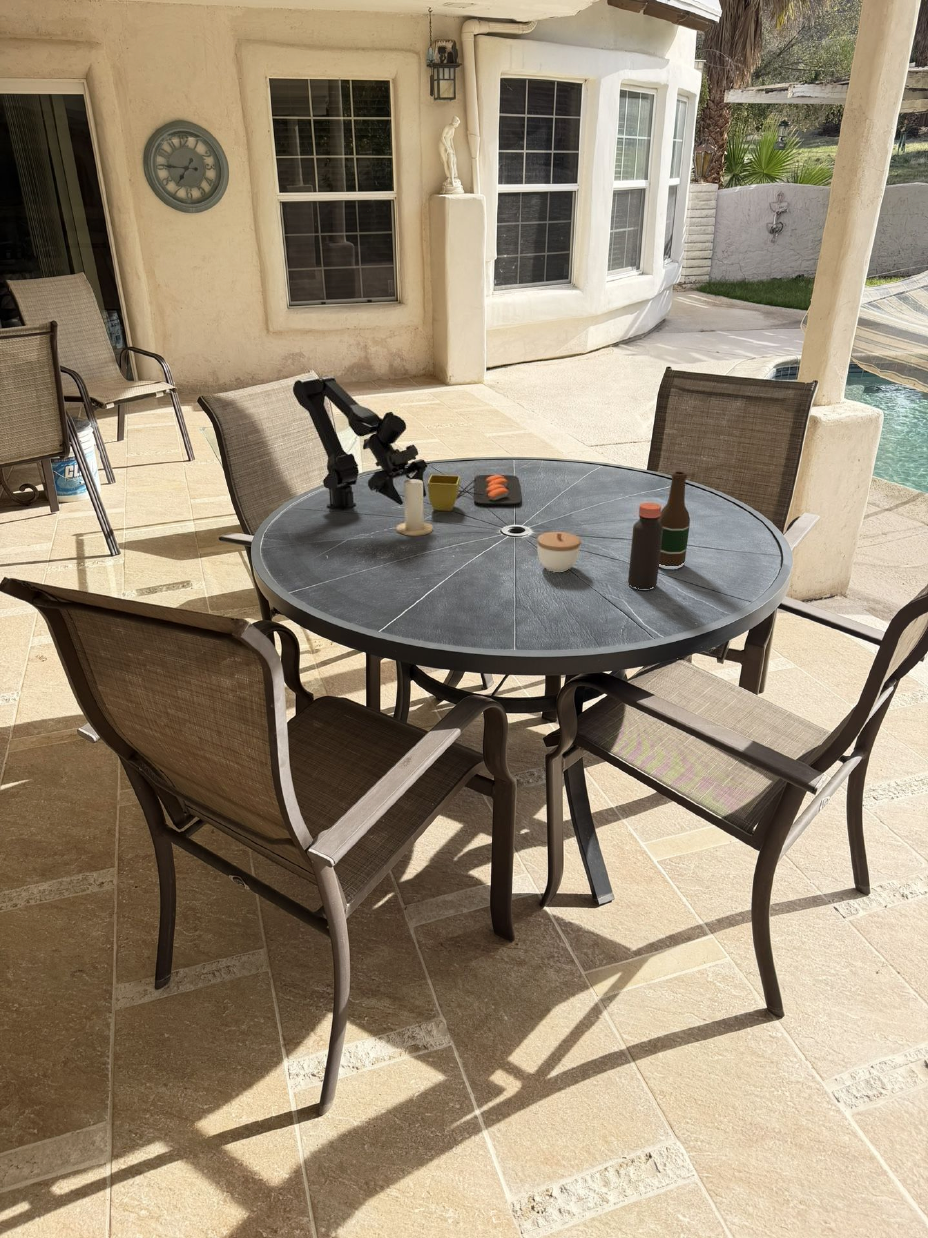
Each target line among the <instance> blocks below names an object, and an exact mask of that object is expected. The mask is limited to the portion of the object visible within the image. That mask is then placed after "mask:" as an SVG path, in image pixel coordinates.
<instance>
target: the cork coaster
mask: <svg viewBox="0 0 928 1238" xmlns="http://www.w3.org/2000/svg"><path fill="white" fill-rule="evenodd" d="M433 529H434V527H433V525H432V524H431V523H429V522H424V528H423V529H421V530H407V529H406V528H405V522H402V523H400V524H398V525H397V526H396V531H397V533H399V534H401V535H405V536H411V537H412V536H413V537H415V536H416V537H417V536H425V535H428V534H430V533H432V532H433Z"/></svg>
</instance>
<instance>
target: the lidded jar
mask: <svg viewBox="0 0 928 1238" xmlns="http://www.w3.org/2000/svg"><path fill="white" fill-rule="evenodd" d="M536 543H537V549H536V550H537V556H538V560H539V562H540V564H541V565H542V566H543V567H544V568H546V569H548V570H550V571H553V572H552V573H555V572H561V571H565V570H568V569H569V570H570V569H571V568H572V567H574V566H575V564H576V563H577V562H578V558H579V556H580V551H581V550H580V549H581V545H582V544H581V543H582V540H581V538H580V537H579V536H578V535H575V534H572V533H569V532H563V531H549V532H546V533H542V534H540V535H539V536H538V537H537V540H536ZM546 569H545V570H546ZM548 570H547V571H548ZM569 570H568V571H569ZM550 571H549V572H550Z"/></svg>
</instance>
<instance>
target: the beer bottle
mask: <svg viewBox="0 0 928 1238" xmlns="http://www.w3.org/2000/svg"><path fill="white" fill-rule="evenodd" d="M670 477H671V484H670V489H669V494H668V500H667V502H666V504H665V505H664V506H663V508H661V514H660V518H659V519H658V521H659V523H660V524H661V525H662V527H663V534H662V542H661V551H660V560H659V564H661V565H665V566H679V565H681V564H682V563H684V562H686V558H687V557H686V556H687V551H688V550H687V549H688V548H687V547H688V541H689V540H688V539H689V534H690V526H691V525H690V524H691V518H690V513H689V510H688V509H687V507H686V506H685V505H686V503H685V500H686V499H685V495H686V494H685V493H686V480H687V479H688V475H687V473H686V472H685V471H674V472H672V474H671V476H670ZM684 564H685V563H684Z"/></svg>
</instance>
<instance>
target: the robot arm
mask: <svg viewBox="0 0 928 1238" xmlns="http://www.w3.org/2000/svg"><path fill="white" fill-rule="evenodd" d="M292 392H293V395H294V398H295V399H296V400H297V402H298V404H299V405H300V407H302V408H303V409H304V410H305V411H307V412H308V414H309V416H310V418H311V421H312V423H313V425H314V427H315V430H316V432H317V435H318V437H319V439H320V442H321V444H322V447H323V448H324V451H325V453H326V455H327V456H326V457H327V461H326V463H327V464H326V470H327V473H328V474H327V475H326V476H325V477H324V478H323V480H322V484H323V486H324V488H325V489H328V493H329V503H328V504H326V507H327V508H330V509H335V510H340V511H346V510H348V509H349V507H350V508H352V507H354V506H356V505H357V503H356V502H354V491H353V486H354V485H357V482H358V481H357V480H358V477H359V473H360V471H359V464H358V463H357V460H356V459H355V455H354V454H353V453H348V452H346V451H345V450H344V449H343V446H342V444H341V442H340V441H341V440H340V439H339V436H338V434H337V432H336V429H335V427H334V425H333V423H332V421H331V418H330V416H329V413H328V411H327V408H326V406H325V402H326V399H325V398H327V399H328V400H329V401H330V402H331V403H332V404H333V405H334V406H335V407H336V408H337V409H338V410H339V411H340V412H341V414H343V415H344V416H345V417H346V419H347V422H348V426H349V427H350V429H351V430H352V432H353V433H354V434H355V435H356V436H357V437H359V438H360V437H364V436H365V437H366V436H369V435H370V436H369V437H368V438H364V439H363V445H362V450H367V449H369V450H370V452H371V453H372V455H373V457H374V458H375V460H376V462H375V465H376V467H377V468H378V467H380V468H381V470H379V471H375V472H374V473H373V474H372V476H370V478H369V479H368V480H367V486H368V488H369V490H370V491H371V492H373V491H374V492H375V493H379V494H381V495H383V496H385V497H387V498H388V499H390V500H392V501H393V502H395V503H396V504H398V505H399V506H401V505H404V502H403V500H402V498H401V496H400V494H399V492H398V491H397V489H396V487H395V485H394V480H395V479H399V478H402V477H404V476H405V477H406V478H407V479H408V480H411V479H417V480H421V481H423V498H425V497H426V496H427V491H426V487H425V483H424V473H425V472H426V470H427V468H428V464H427V463H426V461H425V459H423V458H420V459H417V457H416V456H419V451H418V448H417V447H416V446H415V444H411V445H408V446H406V447H405V449H404V450H400V449H398V448H396V449H395V448H394V447H393V445H394V443H396V442H397V441H398V439H400V437H401V436H402V435H403V433H404V432H405V431H406V430H407V424H406V421H405V420H404V419H403V418H401V416H398V415H395V413H394V412H392V411H389V412H385V414H384V416H383V417H381V416H379V415H378V414H377V413H376V412H375V411H373V410H372V409H370V408H368V407H365V406H362V405H361V404H359V403H358V402H357V401H356V400H355V399H354V398H353V397H352V396H351V395H350V394H349V393H348V392H347V391H346V390H345V389H344V388H343V387H342V386H341V385H340V384H339V383H338V382H337V381H336V378H335V377H333V376H330V375H329V376H328V375H327V376H323V377H319V378H317V377H309V378H302V379H299V380H298V379H297V380H296V381H295V382H294V383H293V386H292ZM392 444H393V445H392ZM409 461H412V462H410V464H409ZM353 505H354V506H353Z"/></svg>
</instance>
